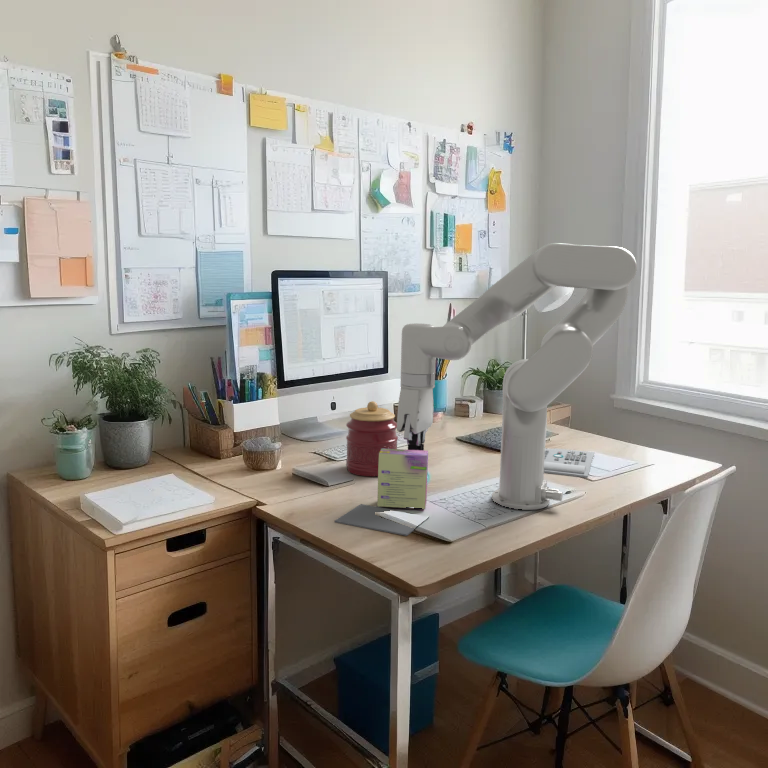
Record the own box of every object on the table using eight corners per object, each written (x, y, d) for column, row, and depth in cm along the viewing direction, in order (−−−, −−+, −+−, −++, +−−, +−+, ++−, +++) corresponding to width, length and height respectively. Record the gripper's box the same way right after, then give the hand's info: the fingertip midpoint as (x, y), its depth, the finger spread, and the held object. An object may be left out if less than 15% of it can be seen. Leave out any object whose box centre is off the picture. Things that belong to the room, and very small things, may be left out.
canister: (346, 477, 177) (346, 406, 174) (345, 462, 190) (345, 396, 187) (399, 477, 178) (400, 406, 175) (395, 462, 190) (396, 396, 187)
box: (426, 502, 160) (428, 449, 158) (425, 509, 154) (427, 455, 153) (379, 500, 161) (380, 447, 159) (377, 507, 155) (378, 453, 154)
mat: (429, 517, 150) (429, 516, 150) (406, 535, 140) (406, 534, 140) (360, 505, 157) (361, 503, 157) (334, 522, 147) (334, 520, 147)
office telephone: (589, 470, 179) (508, 461, 186) (588, 480, 180) (507, 471, 186) (595, 447, 201) (522, 440, 207) (594, 456, 201) (521, 449, 208)
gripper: (416, 374, 167) (413, 451, 171) (387, 383, 154) (385, 467, 157) (446, 377, 164) (443, 455, 167) (419, 387, 151) (417, 472, 154)
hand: (415, 461), depth 162 cm, fingers closed
